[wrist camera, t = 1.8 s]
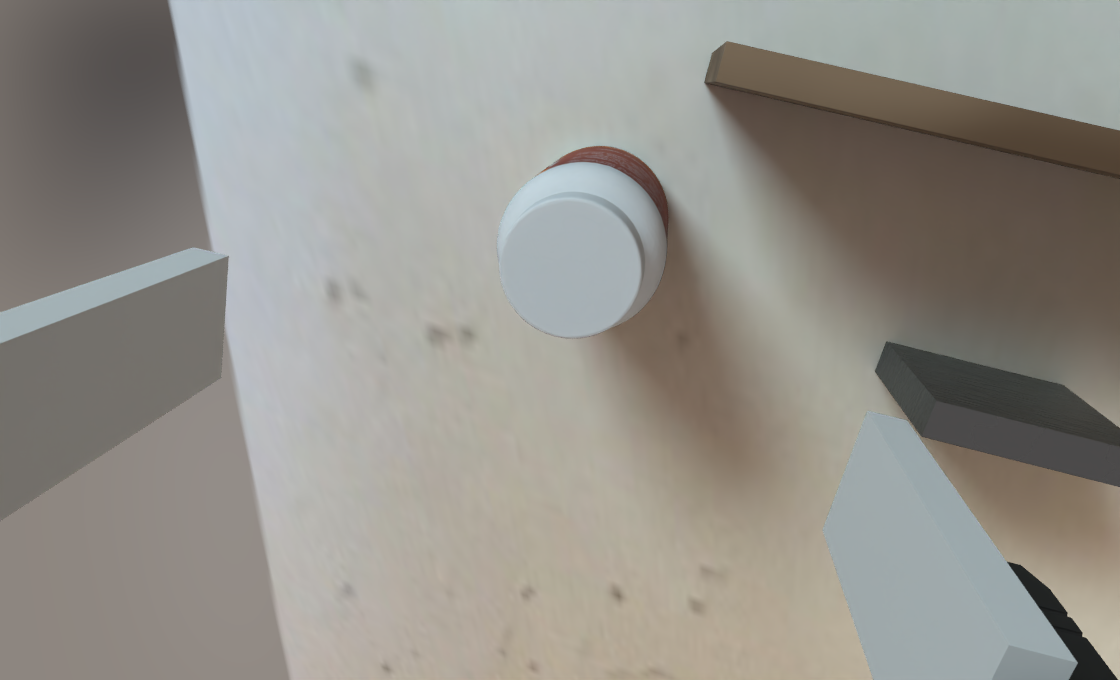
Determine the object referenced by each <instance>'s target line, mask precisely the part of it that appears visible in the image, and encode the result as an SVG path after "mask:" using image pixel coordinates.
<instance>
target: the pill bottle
mask: <svg viewBox="0 0 1120 680" xmlns="http://www.w3.org/2000/svg"><path fill="white" fill-rule="evenodd" d="M667 232H668V206H667V201H666V197H665V194H664V191H663V188H662V186H661V184H660V182H659V180H658V178H657V177H656V175H655V174H654V173H653V171H652V170H651V169H650V168H649V167H648V166H647V165H646V164H645V163H644V162H643V161H642V160H640V159H639V158H638V157H636V156H634V155H633V154H631V153H629V152H627V151H624V150H621V149H618V148H614V147H608V146H592V147H586V148H582V149H579V150H576V151H573V152H571V153H569V154H566V155H565V156H563V157H561V158H560V159H559V160H557V161H556V162H554V163H553V164H552V165H550V166H549V167H547V168H546V169H545V170H543V171H542V172H541V173H539V174H538V175H536V176H535V177H533V178H532V179H531V180H530V181H528V182H527V183H526V184H525V185H524V186H523V187H522V188H521V189H520V190H519V191H518V192H517V193H516V194H515V196H514V197H513V198H512V200H511V201H510V203H509V204H508V206H507V208H506V210H505V212H504V215H503V217H502V219H501V223H500V226H499V231H498V238H497V254H498V261H499V273H500V279H501V283H502V287H503V290H504V293H505V295H506V297H507V299H508V301H509V303H510V304H511V306H512V307H513V308H514V310H515V311H516V312H517V313H518V314H519V315H520V316H521V318H522V319H523V320H525V321H526V322H527V323H528V324H530V325H531V326H533V327H534V328H536V329H538V330H540V331H542V332H544V333H546V334H549V335H552V336H556V337H561V338H585V337H590V336H594V335H596V334H599V333H601V332H604V331H606V330H608V329H609V328H612V327H615V326H617V325H619V324H622V323H623V322H625V321H627V320H629V319H630V318H631V317H633V316H634V315H635V314H637V313H638V312H639V311H640V310H641V309H642V308H643V307H644V306H645V305H646V304H647V303H648V301H649V300H650V299H651V297H652V296H653V294H654V293H655V291H656V289H657V287H658V285H659V283H660V281H661V278H662V275H663V271H664V268H665V263H666V257H667Z"/></svg>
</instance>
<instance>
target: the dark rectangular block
mask: <svg viewBox="0 0 1120 680" xmlns="http://www.w3.org/2000/svg"><path fill="white" fill-rule="evenodd" d="M875 372H876V373H877V375H878V376H879V378H880V379H881V380H882V382H883V383H884V385H885V386H886V387H887V389H888V390H889V392H890V393H891V394H892V396H893V397H894V399H895V400H896V401H897V403H898V404H899V406H900V407H901V408H902V410H903V411H904V413H905V414H906V415H907V417H908V418H909V420H910V421H911V422H912V424H913V425H914V427H915V428H916V429H917V431H918V432H919V434H920V435H921V436H922V437H926V438H929V439H933V440H937V441H941V442H945V443H949V444H953V445H957V446H961V447H965V448H969V449H973V450H977V451H980V452H984V453H988V454H992V455H996V456H1000V457H1004V458H1008V459H1012V460H1016V461H1020V462H1024V463H1028V464H1032V465H1035V466H1039V467H1043V468H1047V469H1051V470H1055V471H1059V472H1063V473H1067V474H1071V475H1075V476H1079V477H1083V478H1086V479H1090V480H1094V481H1098V482H1102V483H1106V484H1110V485H1114V486H1118V487H1120V428H1119V427H1118V426H1116V425H1115V424H1114V423H1112V422H1111V421H1110V420H1108V419H1107V418H1106V417H1104V416H1103V415H1102V414H1100V413H1099V412H1098V411H1097V410H1095V409H1094V408H1093V407H1091V406H1090V405H1089V404H1087V403H1086V402H1085V401H1083V400H1082V399H1081V398H1080V397H1078V396H1077V395H1076V394H1074V393H1073V392H1072V391H1070V390H1069V389H1068V388H1066V387H1065V386H1064V385H1060V384H1056V383H1052V382H1048V381H1044V380H1040V379H1036V378H1032V377H1028V376H1024V375H1020V374H1015V373H1011V372H1007V371H1003V370H999V369H995V368H991V367H987V366H983V365H979V364H975V363H971V362H967V361H963V360H959V359H955V358H951V357H947V356H943V355H939V354H935V353H931V352H927V351H923V350H919V349H915V348H911V347H907V346H903V345H899V344H895V343H891V342H886V344H885V347H884V349H883V352H882V355H881V357H880V360H879V362H878V365H877V368H876V370H875Z"/></svg>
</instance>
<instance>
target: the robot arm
mask: <svg viewBox="0 0 1120 680" xmlns="http://www.w3.org/2000/svg"><path fill="white" fill-rule="evenodd" d="M228 257H229V256H227V255H223V254H219V253H215V252H211V251H206V250H202V249H198V248H190V249H187V250H184V251H181V252H178V253H175V254H172V255H169V256H166V257H163V258H160V259H157V260H154V261H151V262H148V263H146V264H143V265H139V266H137V267H134V268H131V269H128V270H125V271H122V272H119V273H116V274H113V275H110V276H107V277H104V278H101V279H98V280H95V281H92V282H89V283H86V284H83V285H80V286H77V287H74V288H71V289H69V290H65V291H63V292H60V293H57V294H54V295H51V296H48V297H45V298H42V299H39V300H36V301H33V302H30V303H27V304H24V305H21V306H18V307H15V308H12V309H9V310H6V311H3V312H0V521H1V520H3V519H4V518H6V517H7V516H9V515H10V514H12V513H13V512H15V511H16V510H18V509H19V508H21V507H23V506H24V505H26V504H27V503H29V502H30V501H32V500H33V499H35V498H37V497H38V496H39V495H41V494H43V493H44V492H46V491H47V490H49V489H50V488H52V487H53V486H55V485H57V484H58V483H60V482H61V481H63V480H64V479H66V478H67V477H69V476H70V475H72V474H74V473H75V472H77V471H78V470H79V469H81V468H83V467H84V466H86V465H87V464H89V463H90V462H92V461H94V460H95V459H97V458H98V457H100V456H101V455H103V454H104V453H106V452H107V451H109V450H111V449H112V448H114V447H115V446H117V445H118V444H120V443H121V442H123V441H124V440H126V439H127V438H129V437H131V436H132V435H134V434H135V433H137V432H138V431H140V430H141V429H143V428H145V427H146V426H148V425H149V424H151V423H152V422H154V421H155V420H157V419H158V418H160V417H161V416H163V415H165V414H166V413H168V412H169V411H171V410H172V409H174V408H175V407H177V406H179V405H180V404H182V403H183V402H185V401H186V400H188V399H189V398H191V397H192V396H194V395H195V394H197V393H198V392H200V391H202V390H203V389H205V388H206V387H208V386H209V385H211V384H212V383H214V382H216V381H217V380H218V379H220V378H221V372H222V355H223V339H224V323H225V307H226V290H227V274H228ZM823 533H824V536H825V539H826V542H827V545H828V548H829V551H830V554H831V557H832V560H833V562H834V565H835V568H836V571H837V574H838V577H839V580H840V583H841V586H842V589H843V592H844V595H845V598H846V601H847V604H848V607H849V609H850V612H851V615H852V618H853V621H854V624H855V627H856V630H857V633H858V636H859V639H860V642H861V645H862V648H863V651H864V654H865V656H866V659H867V662H868V665H869V668H870V671H871V674H872V677H873V680H1118V679H1117V678H1116V677H1115V675H1114V674H1113V673H1112V671H1111V670H1110V669H1109V667H1108V666H1107V665H1106V663H1105V662H1104V661H1103V659H1102V658H1101V657H1100V655H1099V654H1098V653H1097V651H1096V650H1095V649H1094V647H1093V646H1092V645H1091V643H1090V642H1089V641H1088V639H1087V638H1084V637H1082V631H1081V630H1080V629H1079V627H1078V626H1077V625H1076V623H1075V622H1074V621H1073V619H1072V618H1070V617H1067V614H1068V613H1067V611H1066V610H1065V609H1064V607H1063V606H1062V605H1061V603H1060V602H1059V601H1058V599H1057V598H1056V597H1055V595H1054V594H1053V593H1052V592H1051V590H1050V589H1049V588H1048V587H1047V586H1045V585H1044V584H1043V583H1042V582H1040V581H1039V580H1038V579H1037V578H1036V577H1034V576H1033V575H1032V574H1031V573H1030V572H1028V571H1027V570H1026V569H1025V568H1024V567H1022V566H1021V565H1018V564H1014V563H1010V562H1006V560H1005V559H1004V557H1003V556H1002V555H1001V553H1000V552H999V550H998V549H997V547H996V546H995V545H994V543H993V542H992V540H991V539H990V538H989V536H988V535H987V533H986V532H985V530H984V529H983V528H982V526H981V525H980V523H979V522H978V520H977V519H976V518H975V516H974V515H973V513H972V512H971V511H970V509H969V508H968V506H967V505H966V503H965V502H964V501H963V499H962V498H961V496H960V495H959V494H958V492H957V491H956V489H955V488H954V486H953V485H952V484H951V482H950V481H949V479H948V478H947V477H946V475H945V474H944V472H943V471H942V469H941V468H940V467H939V465H938V464H937V462H936V461H935V459H934V458H933V457H932V455H931V454H930V452H929V451H928V450H927V448H926V447H925V445H924V444H923V442H922V441H921V440H920V438H919V437H918V435H917V434H916V433H915V431H914V430H913V428H912V427H911V425H910V424H909V423H908V421H907V420H904V419H900V418H895V417H891V416H887V415H883V414H879V413H875V412H871V411H867V413H866V416H865V418H864V421H863V424H862V426H861V429H860V432H859V434H858V437H857V440H856V442H855V445H854V448H853V450H852V453H851V456H850V458H849V461H848V464H847V466H846V469H845V472H844V474H843V477H842V480H841V482H840V485H839V488H838V490H837V493H836V495H835V498H834V501H833V503H832V506H831V509H830V511H829V514H828V517H827V519H826V522H825V525H824V527H823Z"/></svg>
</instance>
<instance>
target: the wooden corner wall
mask: <svg viewBox="0 0 1120 680" xmlns="http://www.w3.org/2000/svg"><path fill="white" fill-rule="evenodd" d="M704 83H708V84H712V85H717V86H721V87H725V88H730V89H734V90H738V91H743V92H747V93H751V94H755V95H760V96H764V97H768V98H773V99H777V100H781V101H786V102H790V103H794V104H799V105H803V106H807V107H812V108H816V109H820V110H825V111H829V112H833V113H838V114H842V115H846V116H851V117H855V118H859V119H864V120H868V121H872V122H877V123H881V124H885V125H889V126H894V127H898V128H902V129H907V130H911V131H915V132H920V133H924V134H928V135H933V136H937V137H941V138H946V139H950V140H954V141H959V142H963V143H967V144H972V145H976V146H980V147H985V148H989V149H993V150H998V151H1002V152H1006V153H1010V154H1015V155H1019V156H1023V157H1028V158H1032V159H1036V160H1041V161H1045V162H1049V163H1054V164H1058V165H1062V166H1067V167H1071V168H1075V169H1080V170H1084V171H1088V172H1093V173H1097V174H1101V175H1106V176H1110V177H1114V178H1119V179H1120V131H1119V130H1114V129H1110V128H1105V127H1101V126H1097V125H1092V124H1088V123H1083V122H1079V121H1075V120H1070V119H1066V118H1061V117H1057V116H1053V115H1048V114H1044V113H1040V112H1035V111H1031V110H1026V109H1022V108H1018V107H1013V106H1009V105H1004V104H1000V103H996V102H991V101H987V100H982V99H978V98H974V97H969V96H965V95H960V94H956V93H952V92H947V91H943V90H939V89H934V88H930V87H925V86H921V85H917V84H912V83H908V82H903V81H899V80H895V79H890V78H886V77H881V76H877V75H873V74H868V73H864V72H859V71H855V70H851V69H846V68H842V67H838V66H833V65H829V64H824V63H820V62H816V61H811V60H807V59H802V58H798V57H794V56H789V55H785V54H780V53H776V52H772V51H767V50H763V49H758V48H754V47H750V46H745V45H741V44H737V43H732V42H728V41H727V42H725V43H724V44H723V45H722V46H720V47H719V48H718V49H717V50H715V51H714V52H713V53H712V56H711V60H710V63H709V67H708V71H707V75H706V78H705V82H704Z"/></svg>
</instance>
